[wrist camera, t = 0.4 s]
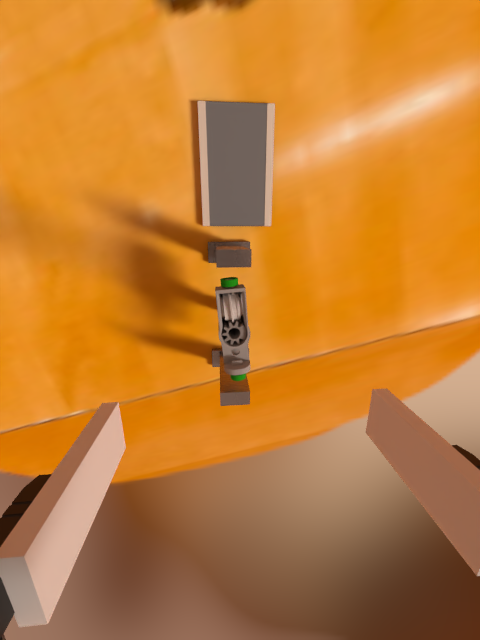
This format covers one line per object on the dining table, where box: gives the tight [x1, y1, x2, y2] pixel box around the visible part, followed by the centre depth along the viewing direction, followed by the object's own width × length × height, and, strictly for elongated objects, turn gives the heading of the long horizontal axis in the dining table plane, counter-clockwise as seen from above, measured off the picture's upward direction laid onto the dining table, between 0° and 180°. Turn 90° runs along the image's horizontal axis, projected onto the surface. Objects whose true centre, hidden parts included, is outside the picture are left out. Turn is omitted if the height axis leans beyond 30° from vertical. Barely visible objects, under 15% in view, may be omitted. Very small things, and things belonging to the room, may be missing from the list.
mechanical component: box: [215, 277, 250, 381], centre depth 29 cm, size 3×10×10 cm, turn 5°
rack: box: [208, 242, 251, 406], centre depth 29 cm, size 16×5×10 cm, turn 1°
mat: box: [198, 101, 275, 226], centre depth 29 cm, size 12×8×1 cm, turn 1°
